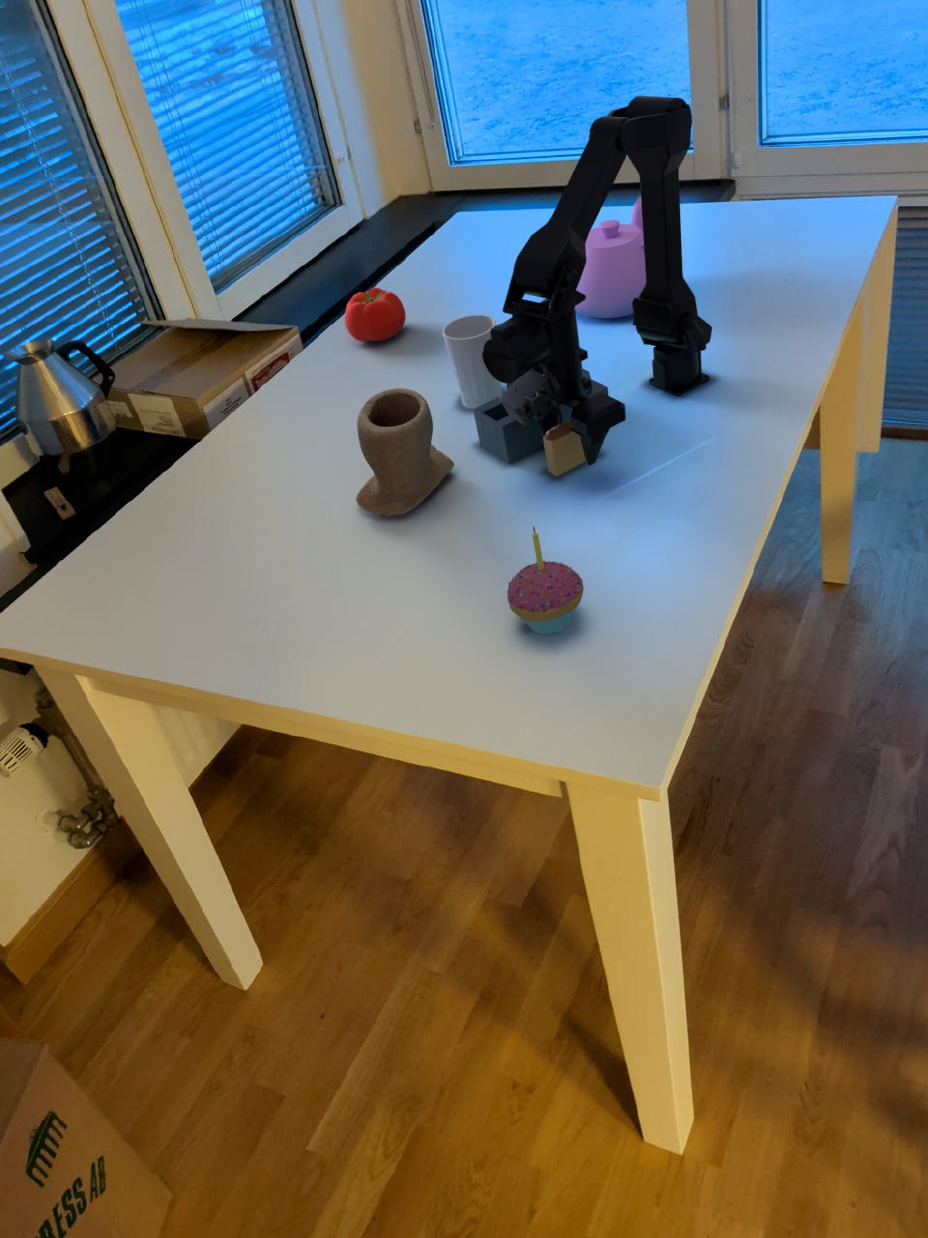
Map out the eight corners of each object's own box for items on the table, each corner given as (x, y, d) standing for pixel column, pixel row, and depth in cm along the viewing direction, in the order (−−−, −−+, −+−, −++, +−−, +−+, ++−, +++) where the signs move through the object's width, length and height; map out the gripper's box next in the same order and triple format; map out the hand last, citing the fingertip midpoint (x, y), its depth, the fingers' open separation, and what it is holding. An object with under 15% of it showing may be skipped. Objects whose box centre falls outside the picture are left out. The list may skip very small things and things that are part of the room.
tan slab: (588, 450, 146) (583, 408, 142) (597, 455, 145) (592, 413, 141) (548, 471, 144) (541, 430, 140) (556, 476, 142) (550, 435, 138)
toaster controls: (576, 395, 158) (572, 359, 155) (610, 412, 153) (606, 375, 149) (531, 418, 156) (526, 381, 152) (564, 436, 150) (559, 399, 146)
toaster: (532, 419, 155) (526, 382, 152) (562, 436, 150) (557, 398, 146) (480, 445, 152) (472, 409, 149) (509, 464, 147) (502, 426, 143)
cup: (503, 410, 159) (490, 336, 151) (452, 413, 161) (437, 341, 154) (512, 384, 165) (499, 312, 157) (462, 387, 167) (448, 316, 159)
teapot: (707, 273, 182) (704, 192, 174) (655, 331, 170) (649, 246, 161) (593, 266, 194) (585, 190, 185) (536, 320, 181) (524, 241, 172)
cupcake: (509, 605, 123) (492, 522, 116) (580, 591, 123) (568, 506, 115) (518, 653, 117) (501, 568, 109) (594, 638, 116) (582, 552, 109)
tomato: (397, 348, 182) (387, 307, 178) (340, 349, 186) (329, 310, 182) (418, 320, 190) (409, 280, 185) (363, 322, 194) (353, 283, 189)
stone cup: (416, 530, 139) (390, 431, 129) (347, 513, 145) (318, 417, 136) (478, 469, 148) (459, 372, 138) (411, 455, 154) (388, 362, 144)
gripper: (464, 350, 137) (485, 453, 147) (549, 395, 124) (565, 504, 134) (533, 318, 141) (548, 420, 151) (623, 358, 128) (633, 467, 138)
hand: (571, 452), depth 143 cm, fingers open, 8 cm apart
